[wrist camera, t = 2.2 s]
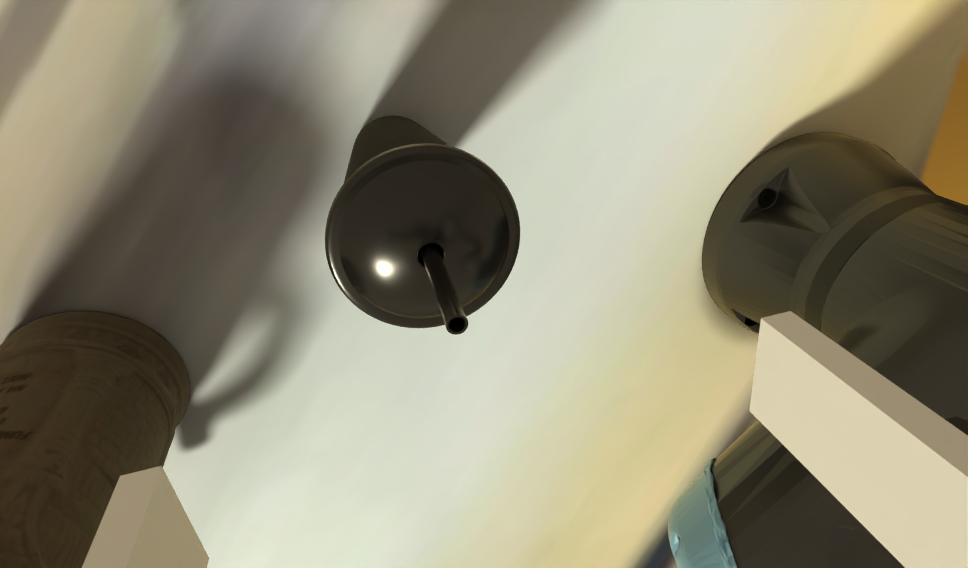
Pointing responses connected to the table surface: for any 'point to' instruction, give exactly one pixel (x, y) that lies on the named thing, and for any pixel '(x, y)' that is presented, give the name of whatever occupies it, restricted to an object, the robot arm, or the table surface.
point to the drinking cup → (419, 228)
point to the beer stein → (78, 428)
